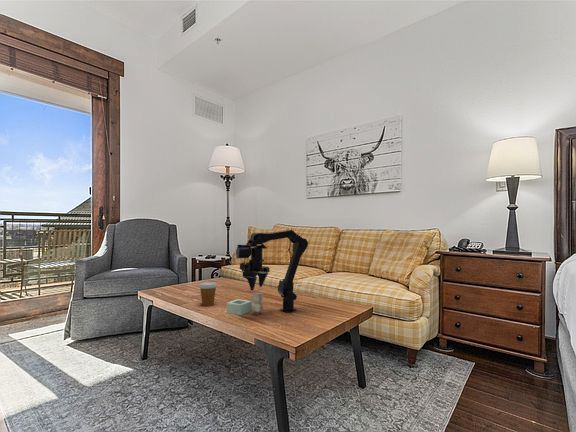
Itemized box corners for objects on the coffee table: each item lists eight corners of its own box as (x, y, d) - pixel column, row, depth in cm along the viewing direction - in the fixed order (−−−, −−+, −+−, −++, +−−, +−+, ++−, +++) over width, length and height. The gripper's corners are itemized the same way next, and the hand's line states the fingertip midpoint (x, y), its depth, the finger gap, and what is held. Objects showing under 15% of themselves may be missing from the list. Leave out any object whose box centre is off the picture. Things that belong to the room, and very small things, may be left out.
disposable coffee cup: (205, 302, 179) (205, 281, 179) (219, 303, 176) (219, 282, 177) (195, 306, 170) (196, 284, 170) (211, 307, 167) (211, 285, 167)
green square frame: (237, 308, 166) (237, 299, 166) (251, 310, 161) (251, 301, 161) (226, 312, 158) (226, 302, 158) (240, 315, 153) (240, 305, 153)
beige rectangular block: (256, 312, 159) (256, 292, 159) (262, 313, 157) (262, 293, 157) (251, 314, 155) (251, 294, 156) (258, 315, 153) (258, 295, 154)
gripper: (251, 255, 167) (251, 284, 166) (233, 258, 149) (232, 290, 149) (270, 256, 163) (269, 285, 162) (253, 259, 145) (253, 293, 145)
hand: (256, 288), depth 155 cm, fingers open, 9 cm apart
